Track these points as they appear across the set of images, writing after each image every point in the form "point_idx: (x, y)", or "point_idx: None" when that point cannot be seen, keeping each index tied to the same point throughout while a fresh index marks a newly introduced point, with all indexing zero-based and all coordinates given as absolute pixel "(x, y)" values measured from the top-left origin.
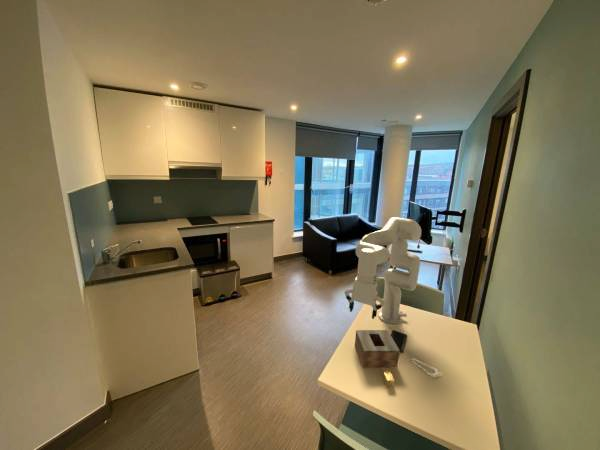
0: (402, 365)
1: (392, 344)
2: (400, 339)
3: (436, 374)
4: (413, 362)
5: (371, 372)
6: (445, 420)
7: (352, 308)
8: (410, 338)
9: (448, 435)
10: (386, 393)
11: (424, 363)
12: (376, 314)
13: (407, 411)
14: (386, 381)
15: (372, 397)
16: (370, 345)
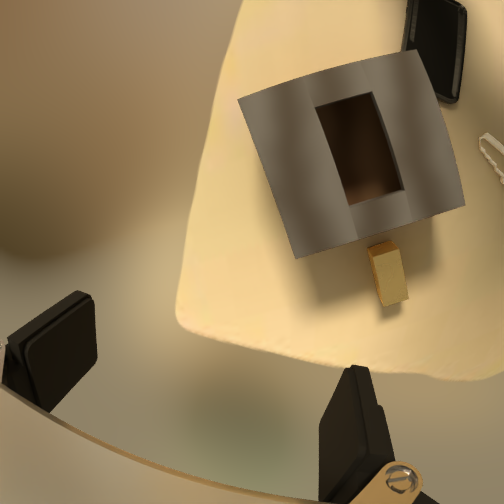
0: None
1: (440, 166)
2: (446, 33)
3: None
4: (483, 153)
5: None
6: (491, 340)
7: (81, 344)
8: (475, 21)
9: (478, 370)
10: (373, 317)
11: None
12: (380, 413)
13: (417, 351)
14: (380, 296)
15: (328, 341)
16: (327, 208)
